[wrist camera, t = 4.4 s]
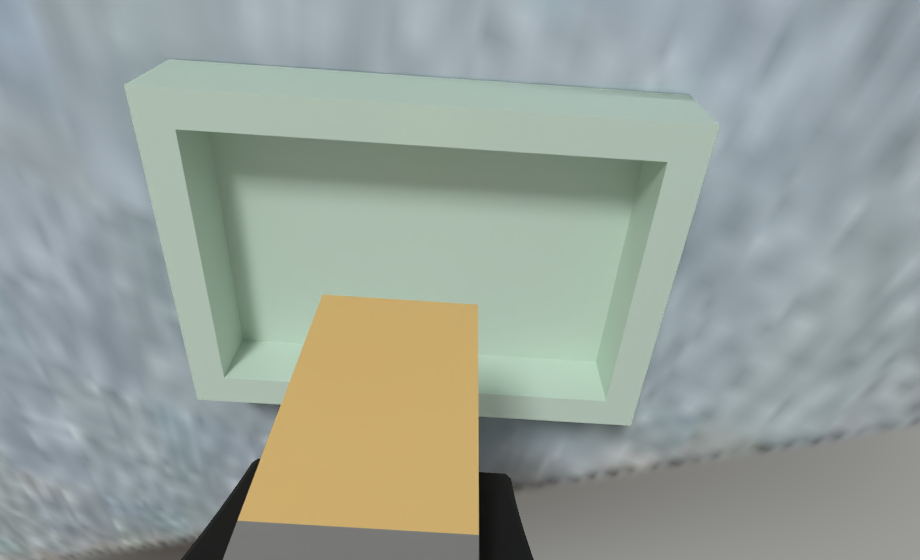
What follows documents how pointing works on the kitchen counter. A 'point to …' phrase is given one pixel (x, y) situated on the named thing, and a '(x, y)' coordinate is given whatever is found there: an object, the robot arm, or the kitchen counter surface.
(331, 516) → the block
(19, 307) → the kitchen counter surface
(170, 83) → the parts tray
